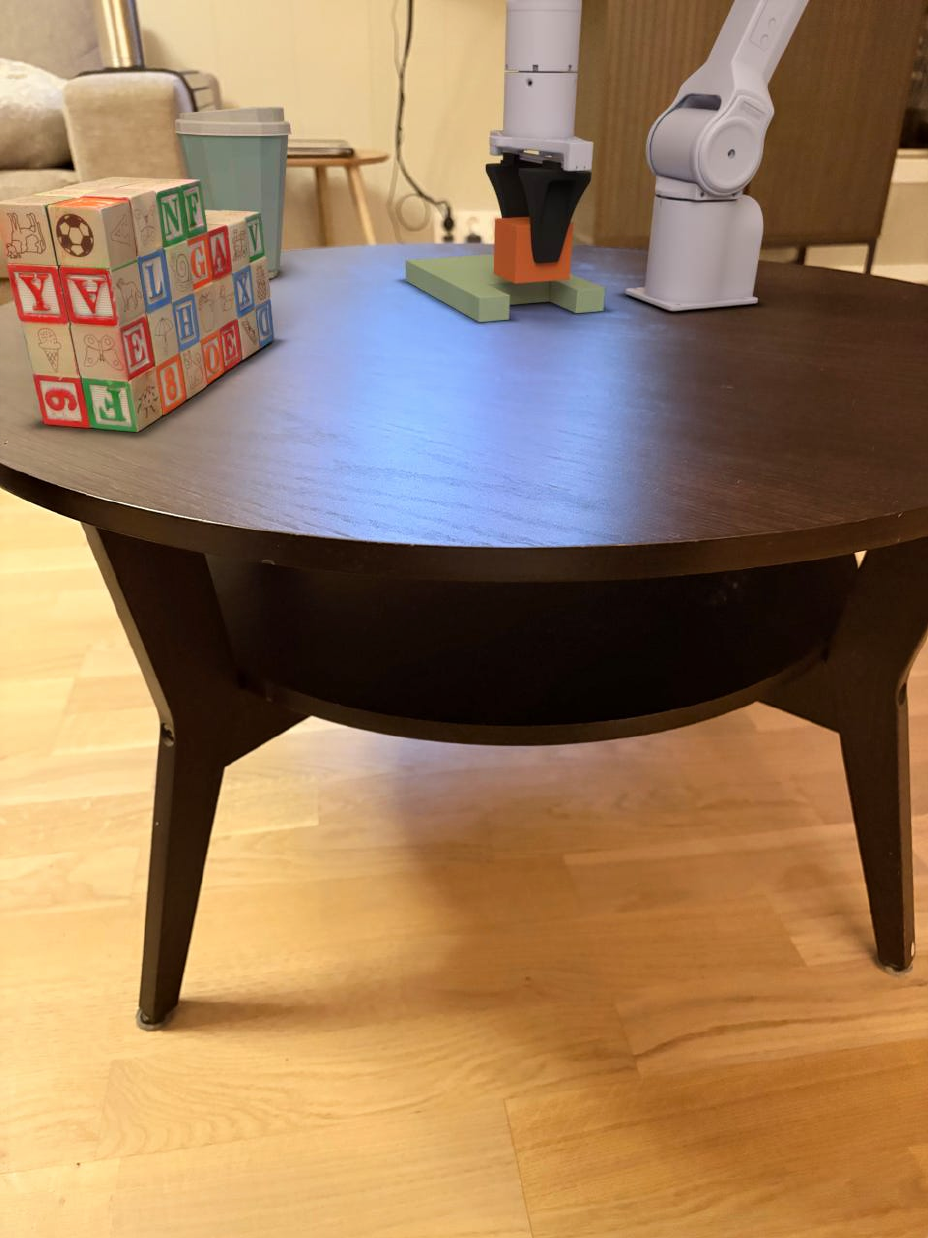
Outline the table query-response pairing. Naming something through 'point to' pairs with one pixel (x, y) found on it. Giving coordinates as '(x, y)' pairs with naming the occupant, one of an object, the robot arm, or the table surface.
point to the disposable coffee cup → (240, 165)
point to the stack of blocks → (132, 296)
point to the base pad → (496, 288)
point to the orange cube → (526, 254)
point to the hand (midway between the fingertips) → (532, 256)
